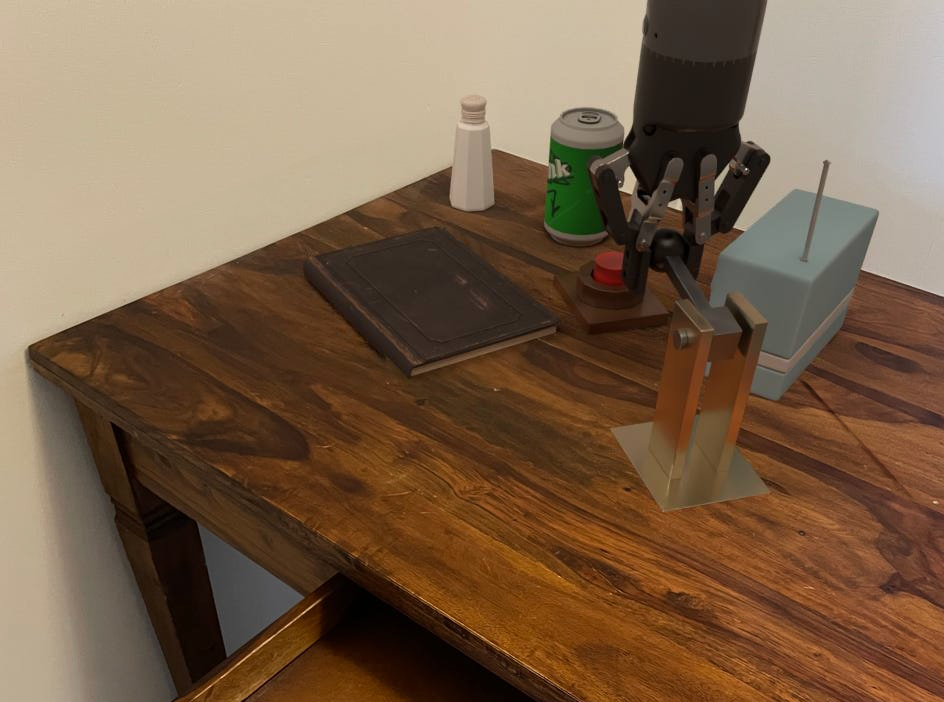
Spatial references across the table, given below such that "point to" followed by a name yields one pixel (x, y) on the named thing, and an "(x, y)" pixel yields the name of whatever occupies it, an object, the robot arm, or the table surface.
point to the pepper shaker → (472, 159)
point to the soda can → (578, 173)
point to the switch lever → (694, 292)
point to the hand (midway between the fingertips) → (657, 287)
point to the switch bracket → (698, 415)
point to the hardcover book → (427, 299)
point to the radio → (796, 278)
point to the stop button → (608, 268)
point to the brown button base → (607, 303)
